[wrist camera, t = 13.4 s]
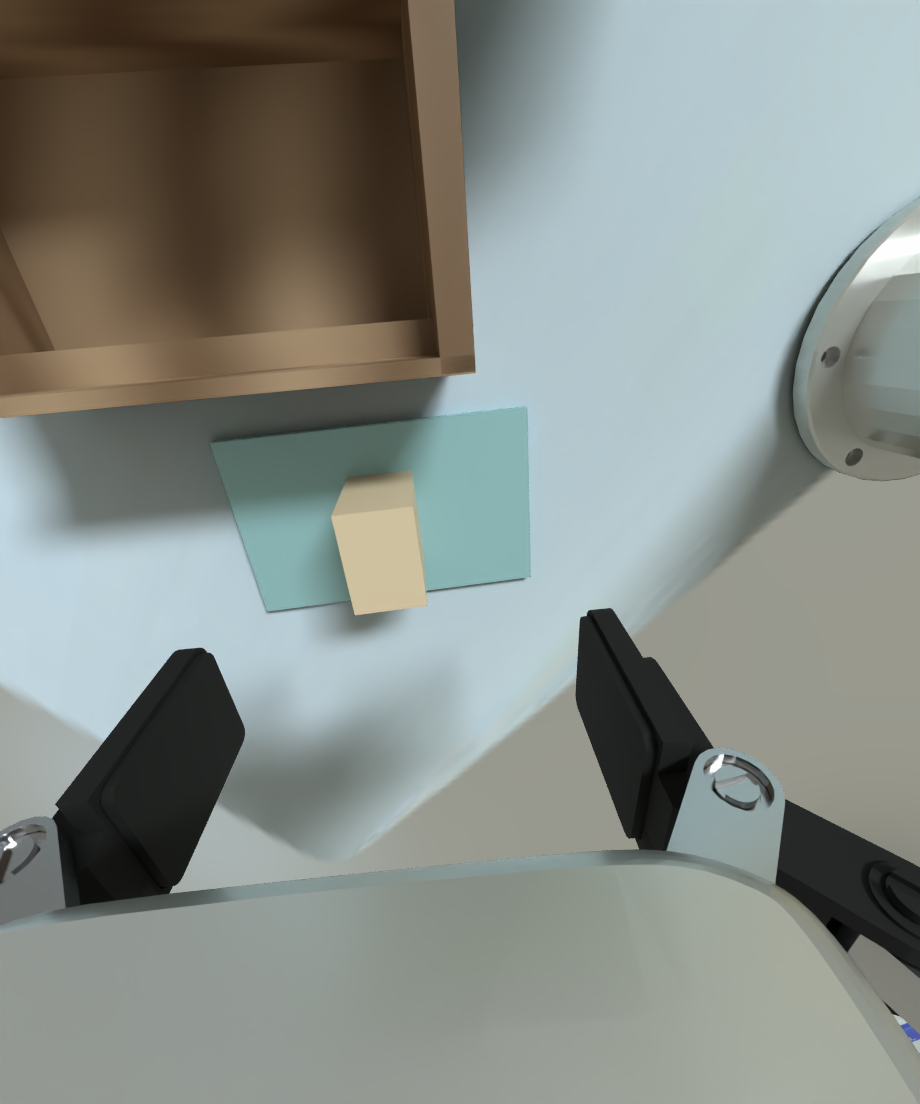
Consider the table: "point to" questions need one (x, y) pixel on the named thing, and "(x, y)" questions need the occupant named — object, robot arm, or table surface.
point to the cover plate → (446, 488)
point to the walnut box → (228, 199)
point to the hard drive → (909, 1030)
